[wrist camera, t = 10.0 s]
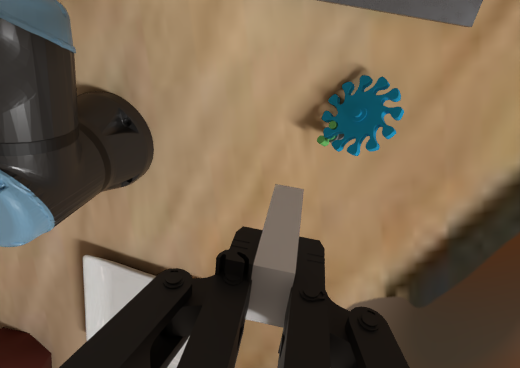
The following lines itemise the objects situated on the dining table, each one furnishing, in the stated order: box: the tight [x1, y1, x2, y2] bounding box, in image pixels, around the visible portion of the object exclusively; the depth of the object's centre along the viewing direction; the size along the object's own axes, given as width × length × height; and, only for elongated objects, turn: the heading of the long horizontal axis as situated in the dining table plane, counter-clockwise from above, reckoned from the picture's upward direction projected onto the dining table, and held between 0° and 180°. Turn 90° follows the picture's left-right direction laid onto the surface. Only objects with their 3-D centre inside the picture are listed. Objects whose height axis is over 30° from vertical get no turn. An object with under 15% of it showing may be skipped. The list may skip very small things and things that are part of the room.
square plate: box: [83, 255, 190, 368], centre depth 67 cm, size 27×27×4 cm
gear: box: [317, 75, 404, 156], centre depth 42 cm, size 11×6×10 cm
